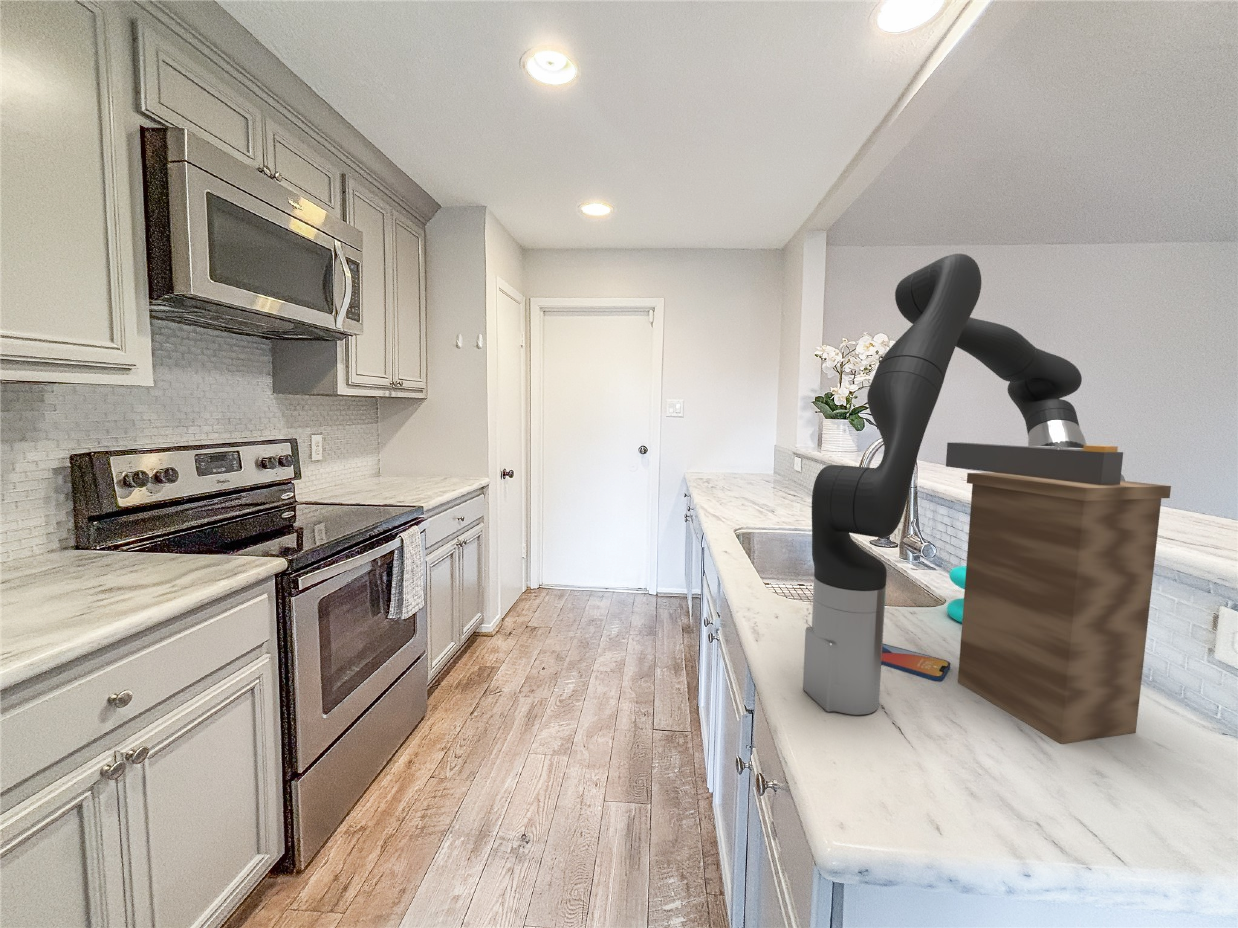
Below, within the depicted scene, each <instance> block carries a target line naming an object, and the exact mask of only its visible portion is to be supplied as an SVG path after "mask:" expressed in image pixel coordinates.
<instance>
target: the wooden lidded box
mask: <svg viewBox="0 0 1238 928" xmlns="http://www.w3.org/2000/svg"><path fill="white" fill-rule="evenodd" d="M966 475H967V476H966V483H967V484H969V485H972V486H971V487H972V488H971V499H970V511H969V512H970V513H969V514H970V515H969V525H968V527H969V528H968V539H967V541H968V542H967V553H966V554H967V555H966V565H965V566H966V578H965V590H964V591H963V592H964V593H963V594H964V595H963V598H964V605H963V618H962V623H961V633H960V634H961V636H960V648H959V662H958V675H957V683H958V684H961V685H962V686H963V687H965V688H966V689H968V690H970V691H972V692H973V693H975V694H977V695H978V696H980V697H982V698H984V699H985V700H987V701H989V702H990V703H992V704H994V705H995V706H997V707H998V708H1000V709H1002V710H1004V711H1005V712H1007V713H1009V714H1010V715H1012V716H1013V717H1015V718H1017V719H1019V720H1020V721H1022V722H1023V723H1025V724H1027V725H1028V726H1030V727H1032V728H1034V729H1035V730H1037V731H1039V732H1040V733H1042V734H1044V735H1045V736H1047V737H1049V738H1050V739H1052V740H1053V741H1055V742H1057V743H1058V744H1061V745H1062V744H1063V745H1064V744H1069V743H1075V742H1082V741H1083V742H1084V741H1087V740H1097V739H1102V738H1109V737H1116V736H1122V735H1128V734H1135V733H1136V732H1137V725H1138V724H1137V723H1138V716H1139V708H1140V707H1139V706H1140V698H1141V688H1142V687H1141V686H1142V679H1143V678H1142V677H1143V670H1144V663H1145V662H1144V661H1145V652H1146V643H1147V634H1148V625H1149V616H1150V606H1151V597H1152V590H1153V589H1152V587H1153V578H1154V569H1155V561H1156V553H1157V552H1156V551H1157V541H1158V535H1159V534H1158V533H1159V524H1160V514H1161V506H1162V499H1171V491H1172V490H1171V489H1172V485H1165V484H1155V483H1147V482H1146V483H1145V482H1140V481H1139V482H1137V481H1129V480H1125V481H1120V485H1097V484H1088V483H1080V482H1071V481H1063V480H1055V479H1046V478H1038V477H1029V476H1021V475H1013V474H1004V473H996V472H967V474H966Z"/></svg>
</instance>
